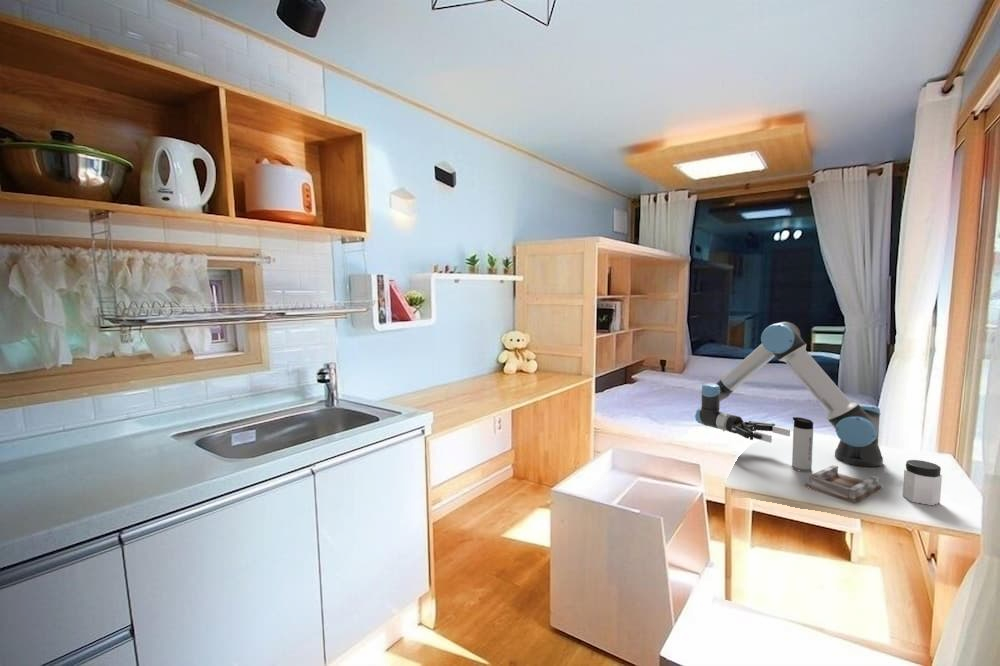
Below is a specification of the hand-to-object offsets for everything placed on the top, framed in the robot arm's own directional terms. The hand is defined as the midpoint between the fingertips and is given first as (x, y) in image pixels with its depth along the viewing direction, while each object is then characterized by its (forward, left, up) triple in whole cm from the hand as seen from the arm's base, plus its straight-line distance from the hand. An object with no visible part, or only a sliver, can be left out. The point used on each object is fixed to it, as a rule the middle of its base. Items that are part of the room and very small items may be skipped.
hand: (780, 436), depth 178 cm
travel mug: (-4, +7, -11) cm, 14 cm away
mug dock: (-7, +24, -11) cm, 27 cm away
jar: (-25, +34, -11) cm, 44 cm away
